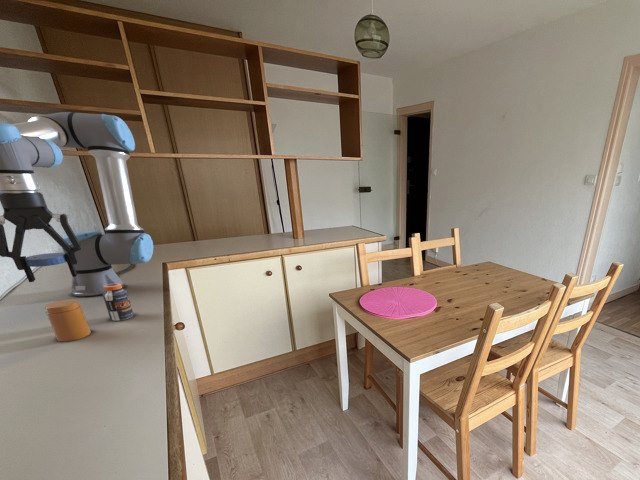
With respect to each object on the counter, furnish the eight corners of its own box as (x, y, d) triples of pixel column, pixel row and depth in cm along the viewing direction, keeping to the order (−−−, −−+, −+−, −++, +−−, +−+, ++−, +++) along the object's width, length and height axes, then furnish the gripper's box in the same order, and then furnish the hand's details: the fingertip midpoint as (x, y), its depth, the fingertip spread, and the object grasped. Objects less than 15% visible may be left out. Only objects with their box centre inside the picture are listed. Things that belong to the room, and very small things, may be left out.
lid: (24, 268, 80) (20, 261, 80) (30, 261, 86) (27, 255, 85) (66, 264, 85) (63, 257, 84) (69, 258, 90) (67, 251, 90)
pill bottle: (120, 322, 99) (109, 288, 95) (105, 320, 100) (94, 286, 96) (138, 314, 105) (129, 282, 101) (124, 312, 106) (114, 281, 102)
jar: (62, 333, 92) (49, 301, 88) (94, 328, 95) (83, 297, 91) (52, 343, 86) (38, 310, 82) (86, 338, 89) (74, 305, 86)
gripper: (-53, 192, 70) (-7, 288, 78) (74, 192, 82) (102, 275, 90) (-41, 191, 75) (1, 281, 84) (77, 190, 87) (103, 269, 96)
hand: (54, 278), depth 87 cm, fingers closed on lid, 7 cm apart
